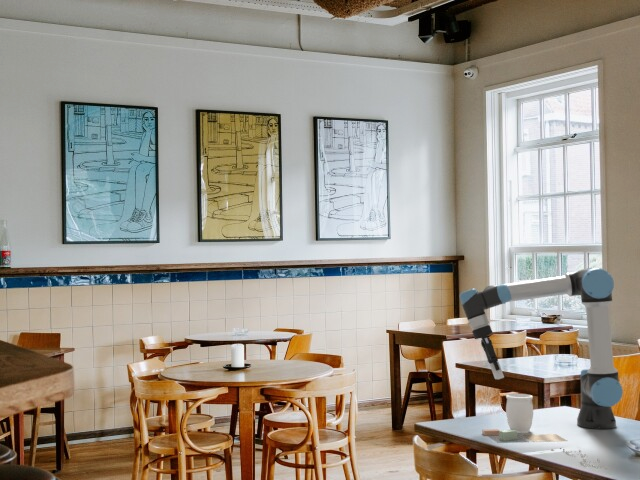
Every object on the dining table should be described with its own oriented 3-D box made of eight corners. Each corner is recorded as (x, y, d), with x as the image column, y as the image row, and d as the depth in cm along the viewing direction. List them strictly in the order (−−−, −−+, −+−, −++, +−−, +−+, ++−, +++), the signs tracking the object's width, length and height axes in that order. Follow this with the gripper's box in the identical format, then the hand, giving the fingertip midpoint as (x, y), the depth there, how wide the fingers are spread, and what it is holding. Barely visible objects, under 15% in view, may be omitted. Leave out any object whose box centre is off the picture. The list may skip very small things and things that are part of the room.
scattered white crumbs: (583, 452, 290) (583, 448, 290) (609, 470, 265) (609, 465, 265) (563, 452, 290) (563, 448, 290) (587, 470, 265) (587, 465, 265)
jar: (534, 437, 314) (533, 397, 315) (506, 436, 316) (506, 397, 317) (532, 431, 325) (532, 393, 325) (506, 430, 327) (505, 393, 327)
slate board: (519, 438, 312) (519, 435, 312) (529, 445, 300) (529, 441, 300) (488, 439, 311) (488, 436, 311) (497, 446, 299) (497, 442, 299)
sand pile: (556, 437, 313) (556, 434, 313) (567, 444, 301) (567, 440, 301) (522, 438, 312) (522, 435, 312) (533, 445, 300) (533, 441, 300)
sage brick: (512, 437, 308) (512, 429, 308) (517, 438, 306) (517, 430, 306) (499, 438, 306) (499, 430, 306) (504, 440, 303) (504, 432, 303)
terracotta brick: (497, 436, 316) (497, 429, 316) (499, 438, 313) (499, 430, 313) (482, 437, 316) (482, 429, 316) (484, 439, 313) (484, 431, 313)
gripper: (470, 331, 339) (488, 381, 335) (472, 328, 315) (492, 381, 310) (487, 326, 338) (506, 375, 334) (491, 322, 314) (511, 375, 310)
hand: (499, 378), depth 322 cm, fingers open, 13 cm apart
